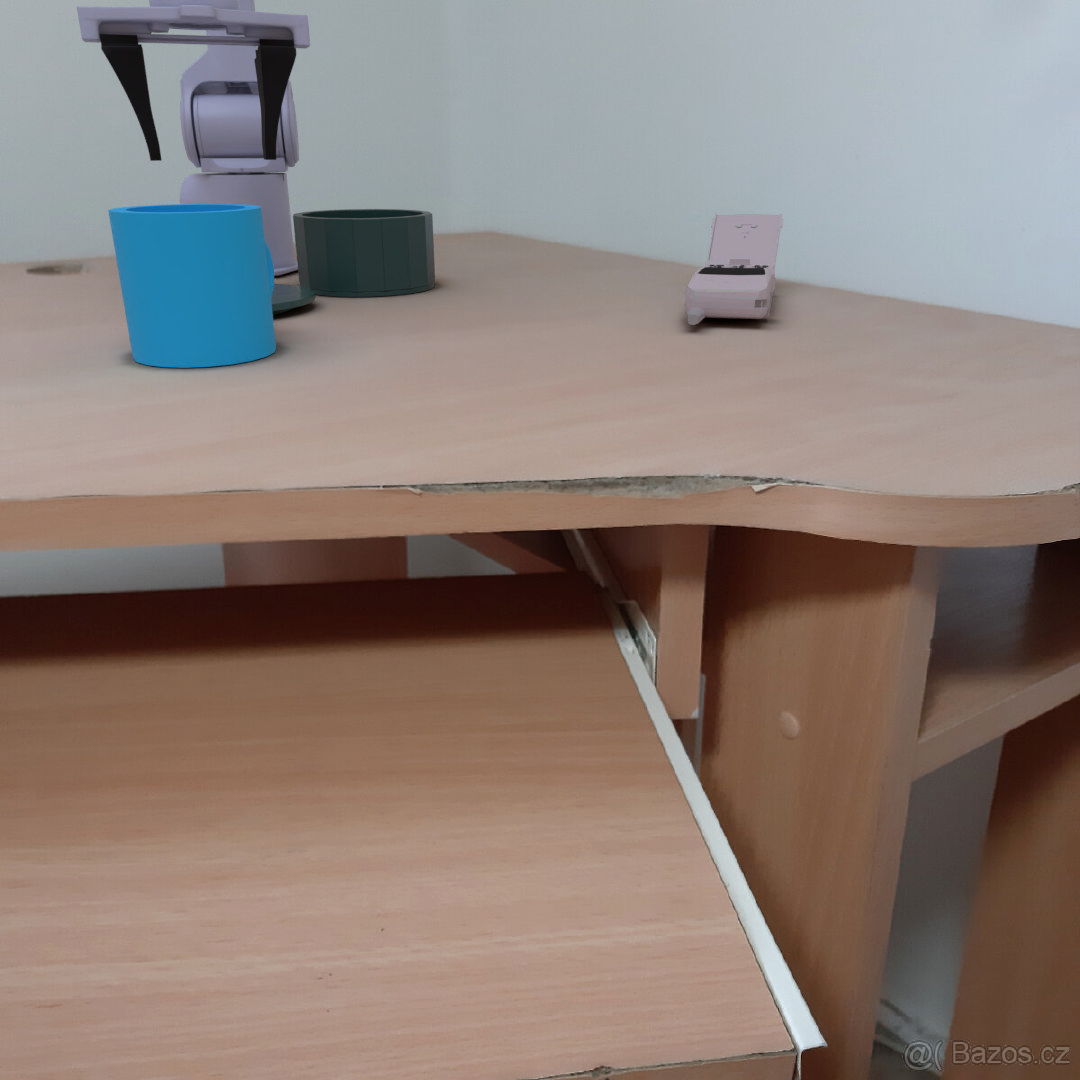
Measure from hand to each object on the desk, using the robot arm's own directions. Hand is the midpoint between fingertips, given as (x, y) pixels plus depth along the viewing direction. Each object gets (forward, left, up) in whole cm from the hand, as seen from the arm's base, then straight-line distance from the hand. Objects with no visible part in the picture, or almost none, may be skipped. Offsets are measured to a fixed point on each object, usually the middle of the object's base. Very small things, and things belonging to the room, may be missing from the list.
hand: (214, 160), depth 67 cm
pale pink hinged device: (+37, +9, -11) cm, 39 cm away
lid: (0, 0, -10) cm, 10 cm away
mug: (+6, -13, -11) cm, 18 cm away
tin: (+6, +13, -10) cm, 18 cm away
